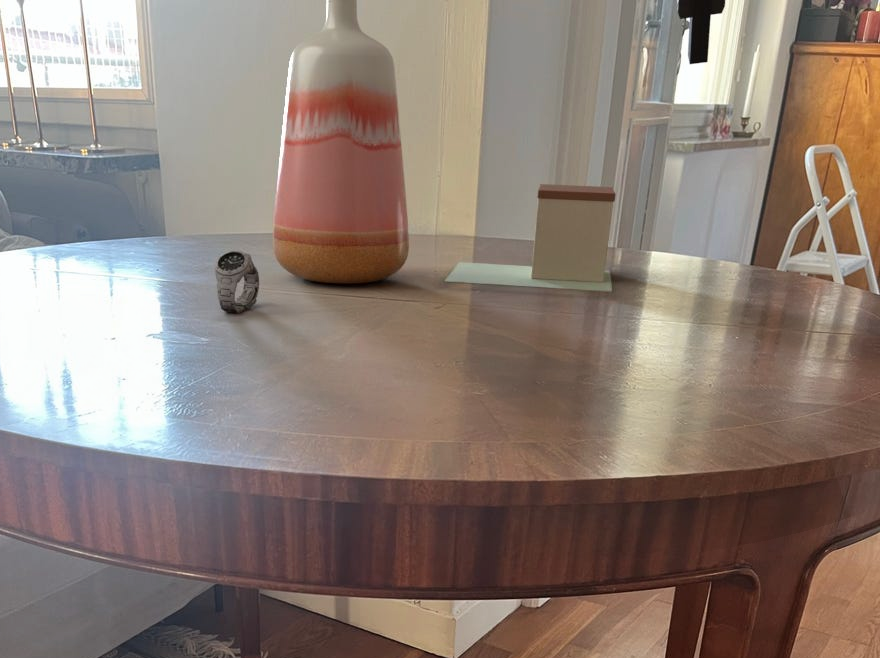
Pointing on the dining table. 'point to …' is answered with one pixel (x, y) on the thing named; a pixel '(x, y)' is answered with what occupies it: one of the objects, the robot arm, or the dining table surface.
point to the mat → (518, 277)
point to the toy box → (572, 232)
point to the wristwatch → (236, 281)
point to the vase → (341, 159)
